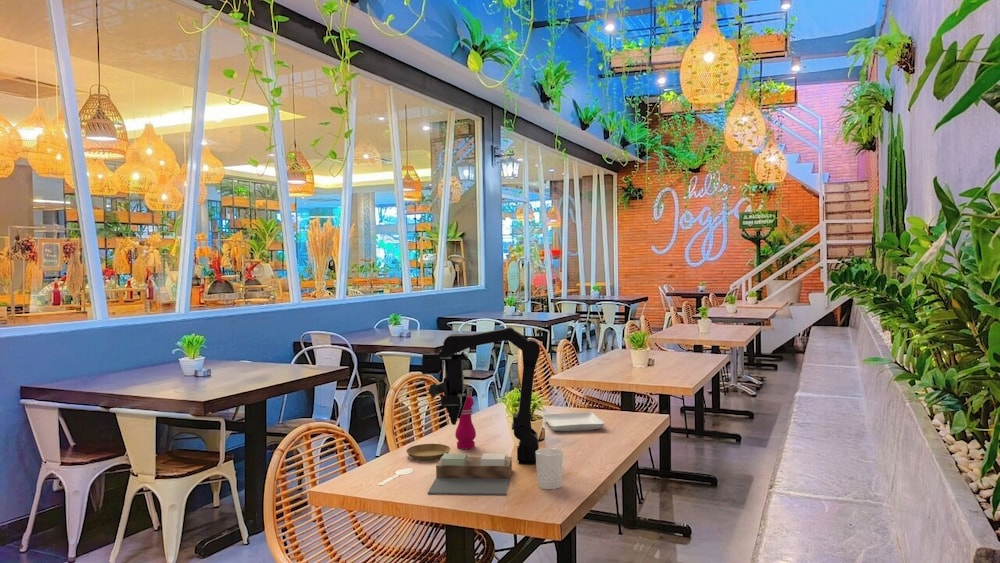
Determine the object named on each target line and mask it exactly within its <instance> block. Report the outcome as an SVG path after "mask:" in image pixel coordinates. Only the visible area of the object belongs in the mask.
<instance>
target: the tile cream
mask: <svg viewBox="0 0 1000 563" xmlns="http://www.w3.org/2000/svg"><path fill="white" fill-rule="evenodd" d="M481 457H482V458H481V466H504V465H505V462H506V457H507V454H506V453H482V456H481Z"/></svg>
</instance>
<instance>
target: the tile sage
mask: <svg viewBox="0 0 1000 563" xmlns="http://www.w3.org/2000/svg"><path fill="white" fill-rule="evenodd" d="M467 457H468V453H467V452H465V453H461V452H460V453H457V452H456V453H453V452H452V453H451V452H448V453H444V455H443V457H442V458H441V465H453V466H464V465H465V463H466V461H467Z"/></svg>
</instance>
